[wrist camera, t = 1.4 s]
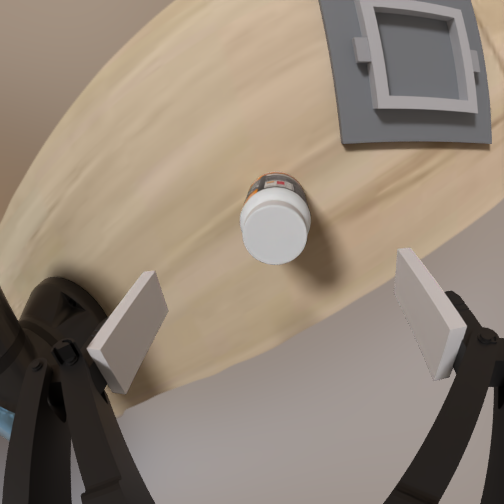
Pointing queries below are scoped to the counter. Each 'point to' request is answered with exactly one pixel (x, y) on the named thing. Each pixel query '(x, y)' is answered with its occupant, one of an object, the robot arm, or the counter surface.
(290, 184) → the pill bottle
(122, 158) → the counter surface
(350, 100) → the socket
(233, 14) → the counter surface
